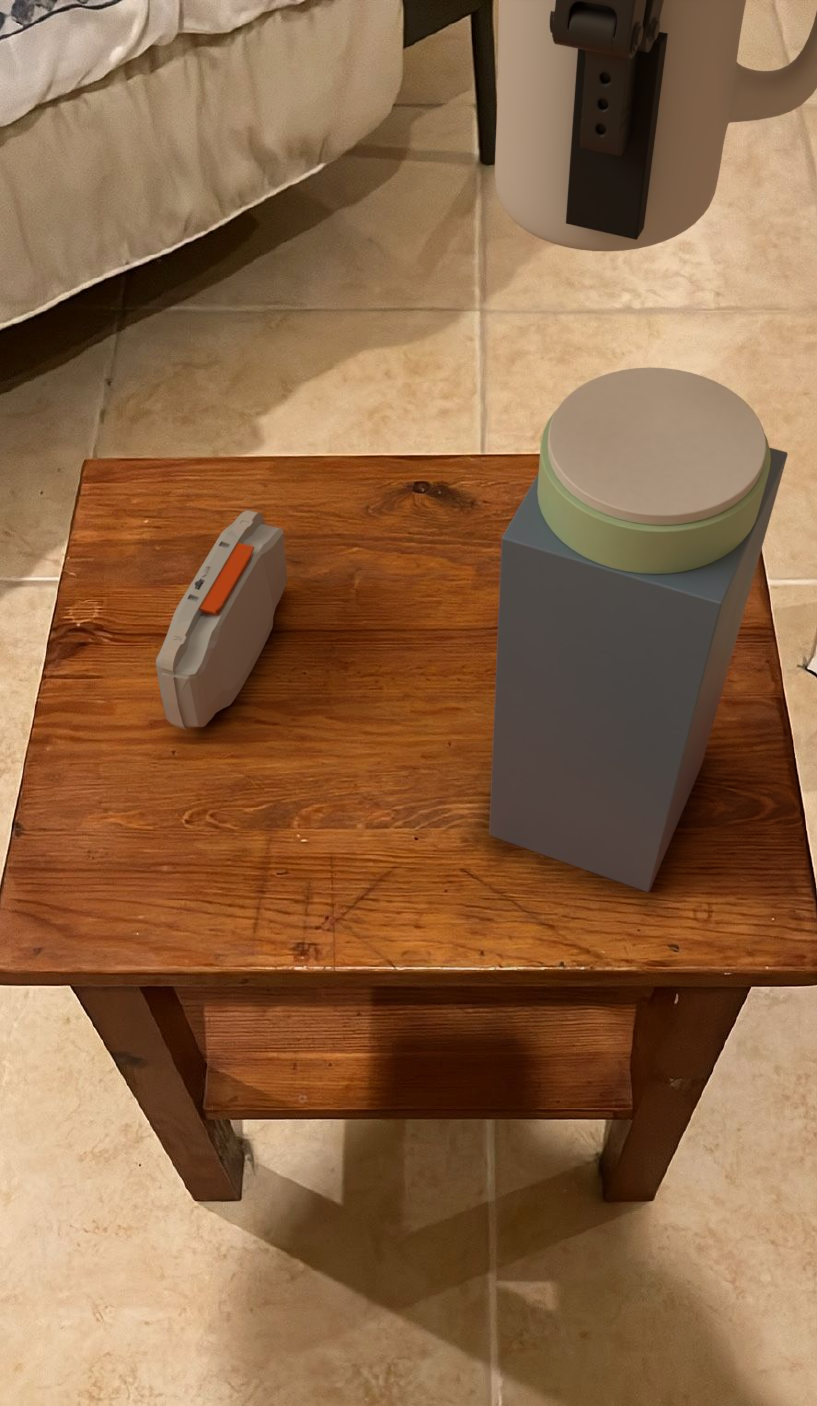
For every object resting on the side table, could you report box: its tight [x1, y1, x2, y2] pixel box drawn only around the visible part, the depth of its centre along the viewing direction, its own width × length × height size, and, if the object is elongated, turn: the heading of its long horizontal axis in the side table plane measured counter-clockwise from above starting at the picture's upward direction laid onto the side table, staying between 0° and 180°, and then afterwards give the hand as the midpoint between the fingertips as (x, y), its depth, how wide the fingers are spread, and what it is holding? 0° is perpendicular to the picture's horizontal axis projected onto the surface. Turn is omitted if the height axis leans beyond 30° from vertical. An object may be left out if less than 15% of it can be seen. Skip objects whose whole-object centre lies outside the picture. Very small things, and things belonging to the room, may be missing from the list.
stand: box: [488, 447, 788, 893], centre depth 68 cm, size 10×10×24 cm
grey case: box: [155, 509, 288, 731], centre depth 82 cm, size 14×3×8 cm, turn 160°
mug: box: [494, 0, 817, 252], centre depth 46 cm, size 12×8×11 cm
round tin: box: [537, 367, 771, 574], centre depth 57 cm, size 10×10×3 cm
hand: (647, 157), depth 49 cm, fingers closed on mug, 8 cm apart
